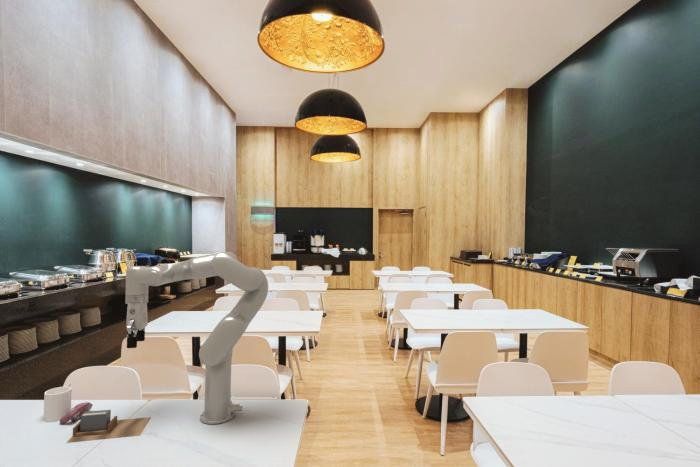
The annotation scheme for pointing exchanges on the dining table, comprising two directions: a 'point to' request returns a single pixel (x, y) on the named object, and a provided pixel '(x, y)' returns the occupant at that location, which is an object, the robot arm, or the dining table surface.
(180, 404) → the dining table surface
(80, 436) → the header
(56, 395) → the cup
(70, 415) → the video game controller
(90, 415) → the dark grey box
